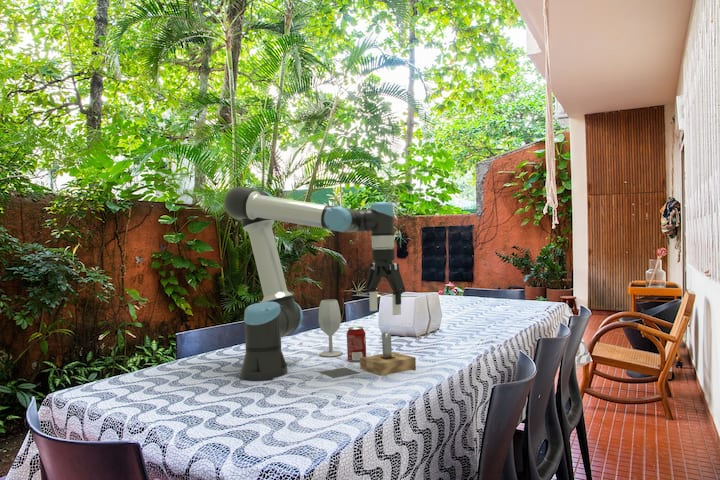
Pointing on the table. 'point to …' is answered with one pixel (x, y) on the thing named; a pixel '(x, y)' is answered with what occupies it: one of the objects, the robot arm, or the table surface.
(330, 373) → the mat
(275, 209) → the robot arm
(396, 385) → the table surface
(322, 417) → the table surface
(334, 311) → the wineglass
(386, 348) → the pin
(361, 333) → the soda can
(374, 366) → the hole block
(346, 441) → the table surface
